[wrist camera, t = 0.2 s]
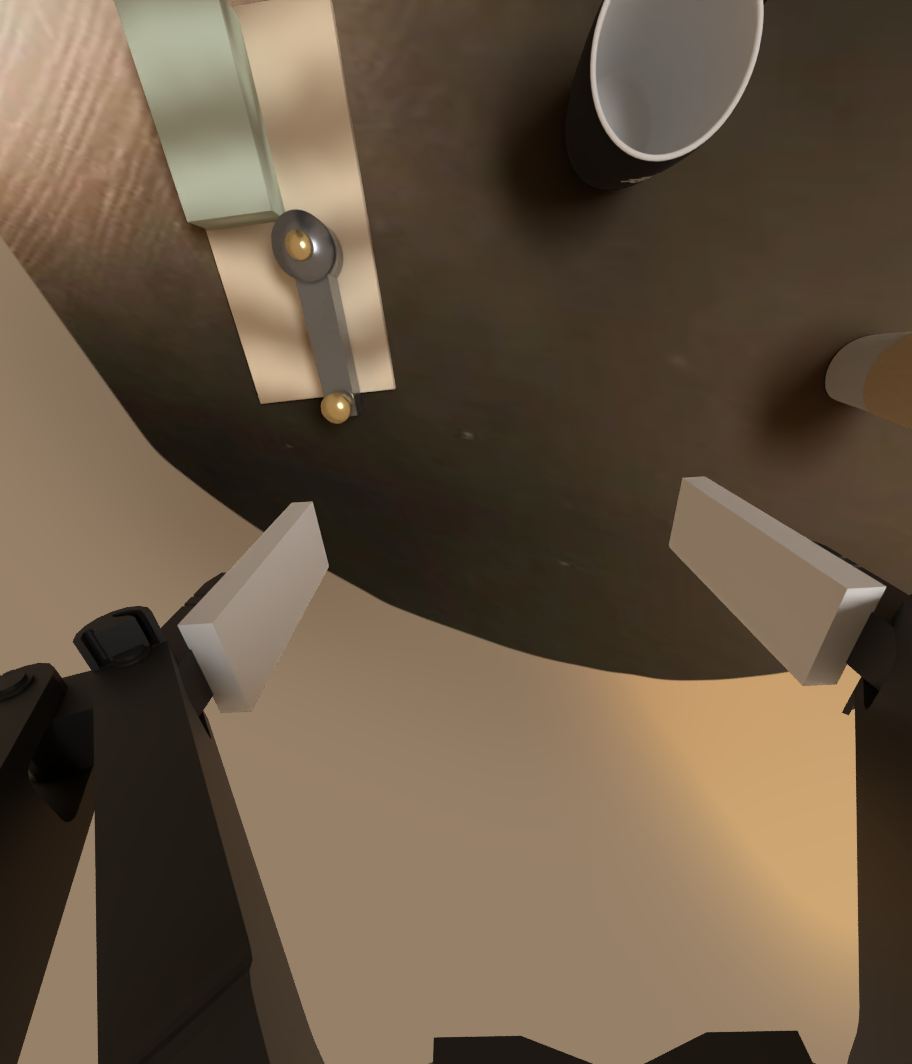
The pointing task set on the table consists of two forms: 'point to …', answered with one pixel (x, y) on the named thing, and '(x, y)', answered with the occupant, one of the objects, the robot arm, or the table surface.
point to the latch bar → (320, 306)
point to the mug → (657, 84)
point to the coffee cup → (875, 376)
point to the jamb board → (306, 188)
